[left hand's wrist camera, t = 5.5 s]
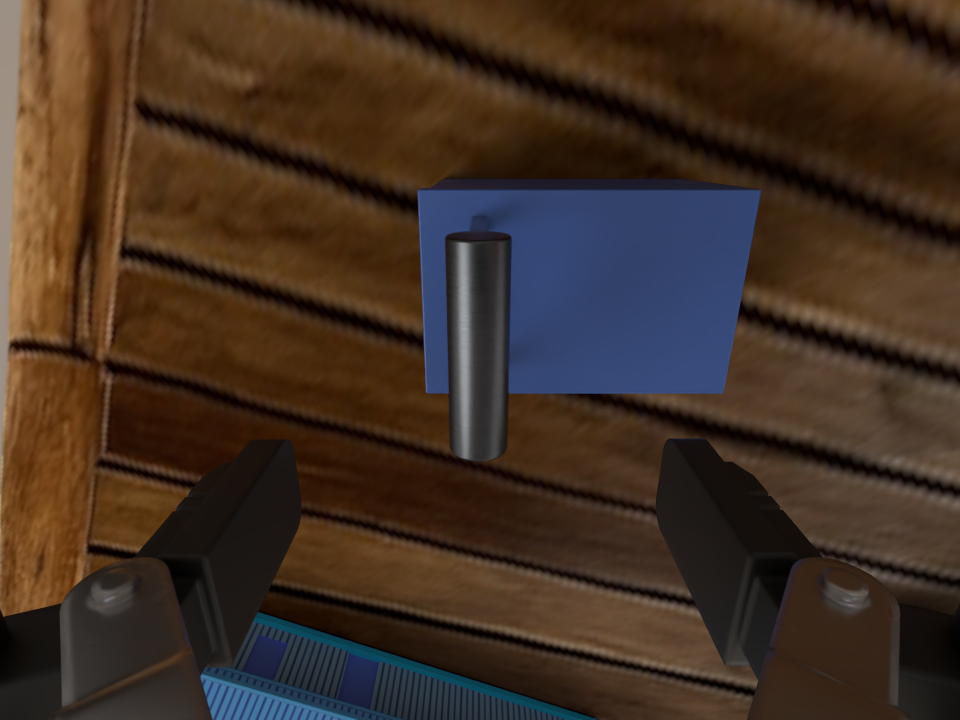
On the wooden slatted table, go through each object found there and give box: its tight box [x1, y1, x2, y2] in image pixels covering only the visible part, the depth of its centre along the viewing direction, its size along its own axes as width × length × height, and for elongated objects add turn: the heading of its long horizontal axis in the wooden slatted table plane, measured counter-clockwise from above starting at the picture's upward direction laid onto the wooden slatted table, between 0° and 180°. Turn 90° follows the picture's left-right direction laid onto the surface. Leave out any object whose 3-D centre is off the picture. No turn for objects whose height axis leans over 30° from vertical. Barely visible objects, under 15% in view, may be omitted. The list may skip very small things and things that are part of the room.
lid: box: [418, 188, 761, 462], centre depth 22 cm, size 15×10×9 cm, turn 90°
